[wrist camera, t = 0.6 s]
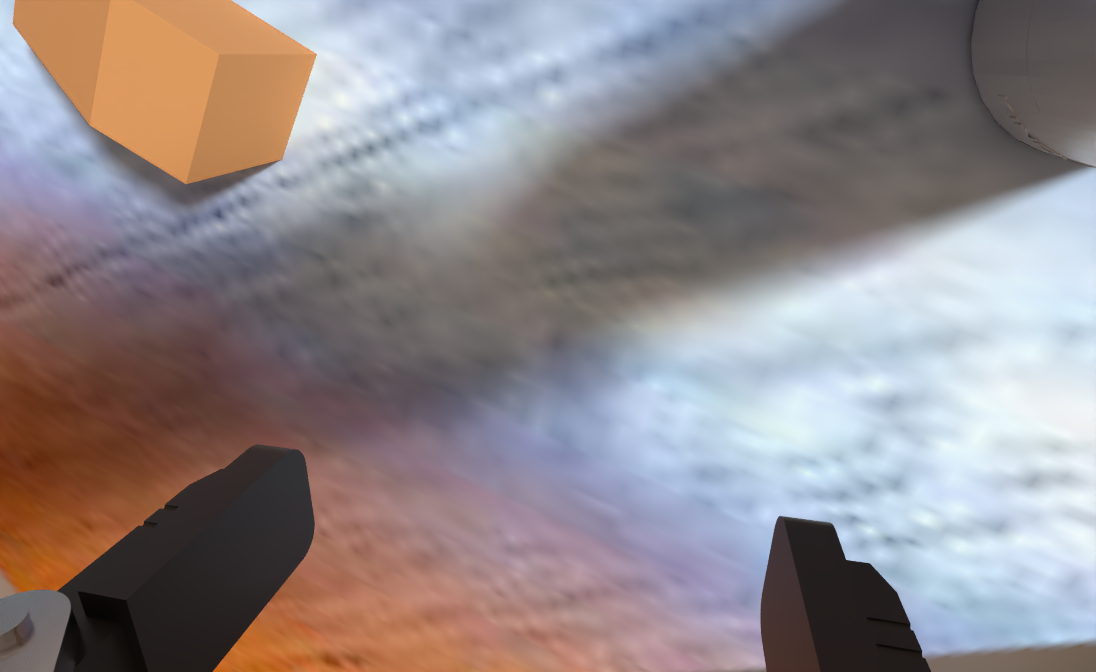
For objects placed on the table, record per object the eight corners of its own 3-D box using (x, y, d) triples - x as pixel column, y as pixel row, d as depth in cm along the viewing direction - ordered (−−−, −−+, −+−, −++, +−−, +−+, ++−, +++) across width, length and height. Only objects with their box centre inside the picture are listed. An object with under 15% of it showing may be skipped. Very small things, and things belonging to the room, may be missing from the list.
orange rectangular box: (67, 26, 28) (-83, 19, 22) (83, -93, 25) (-79, -132, 20) (282, 159, 28) (185, 184, 23) (317, 54, 26) (219, 54, 20)
